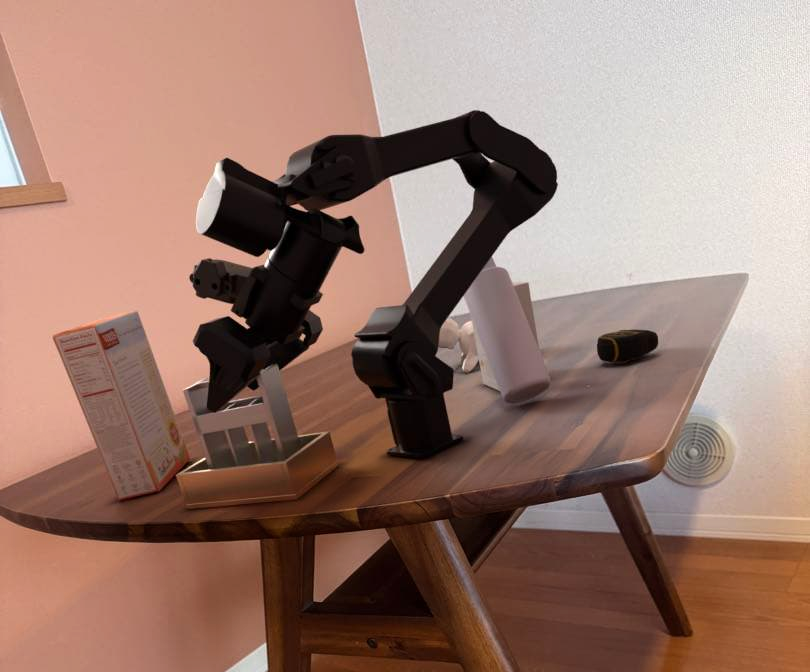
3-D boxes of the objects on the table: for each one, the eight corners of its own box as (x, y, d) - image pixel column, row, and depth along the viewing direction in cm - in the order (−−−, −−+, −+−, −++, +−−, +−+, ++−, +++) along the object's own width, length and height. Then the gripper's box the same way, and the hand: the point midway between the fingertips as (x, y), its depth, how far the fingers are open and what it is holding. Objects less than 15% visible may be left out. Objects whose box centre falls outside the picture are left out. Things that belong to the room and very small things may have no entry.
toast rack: (307, 466, 88) (277, 363, 84) (292, 482, 83) (260, 373, 79) (235, 479, 90) (203, 378, 86) (217, 495, 86) (182, 390, 81)
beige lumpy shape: (511, 371, 129) (423, 357, 128) (522, 319, 126) (431, 304, 125) (518, 381, 121) (423, 365, 120) (530, 325, 118) (433, 310, 117)
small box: (545, 381, 104) (529, 281, 99) (501, 393, 103) (482, 293, 98) (524, 373, 111) (508, 280, 106) (482, 384, 110) (464, 291, 105)
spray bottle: (542, 377, 88) (477, 213, 92) (496, 400, 91) (435, 240, 95) (559, 386, 94) (496, 230, 98) (515, 408, 96) (456, 256, 100)
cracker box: (152, 468, 108) (97, 318, 101) (192, 460, 108) (140, 308, 100) (114, 502, 96) (48, 333, 88) (160, 493, 95) (97, 321, 87)
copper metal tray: (338, 465, 88) (329, 431, 87) (296, 499, 80) (286, 462, 78) (236, 476, 94) (226, 444, 92) (187, 509, 85) (175, 474, 84)
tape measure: (662, 354, 102) (660, 326, 101) (623, 368, 100) (620, 339, 98) (625, 353, 108) (622, 326, 107) (588, 366, 106) (584, 339, 104)
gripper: (267, 218, 83) (211, 339, 91) (177, 230, 67) (119, 375, 75) (352, 278, 84) (289, 393, 91) (282, 304, 67) (213, 441, 75)
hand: (231, 398), depth 83 cm, fingers open, 9 cm apart
